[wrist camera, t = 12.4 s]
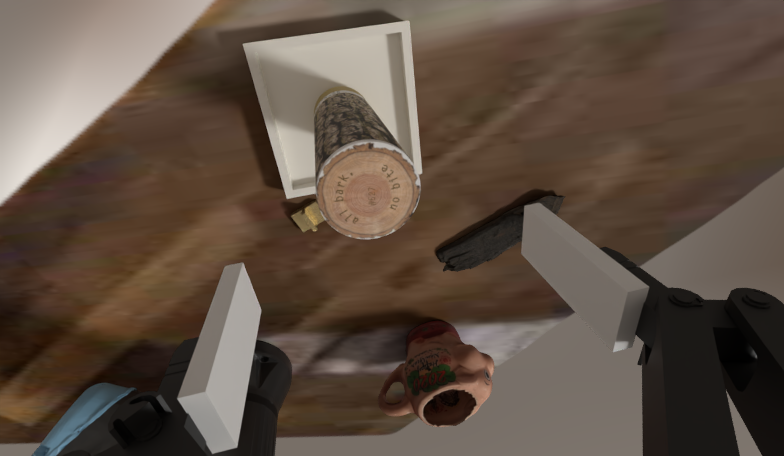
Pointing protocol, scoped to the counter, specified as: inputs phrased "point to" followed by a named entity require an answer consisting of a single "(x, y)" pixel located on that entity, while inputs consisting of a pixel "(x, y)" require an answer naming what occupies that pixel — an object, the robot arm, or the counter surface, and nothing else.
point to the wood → (491, 238)
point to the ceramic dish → (327, 70)
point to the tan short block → (308, 216)
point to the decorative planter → (439, 377)
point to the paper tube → (360, 168)
